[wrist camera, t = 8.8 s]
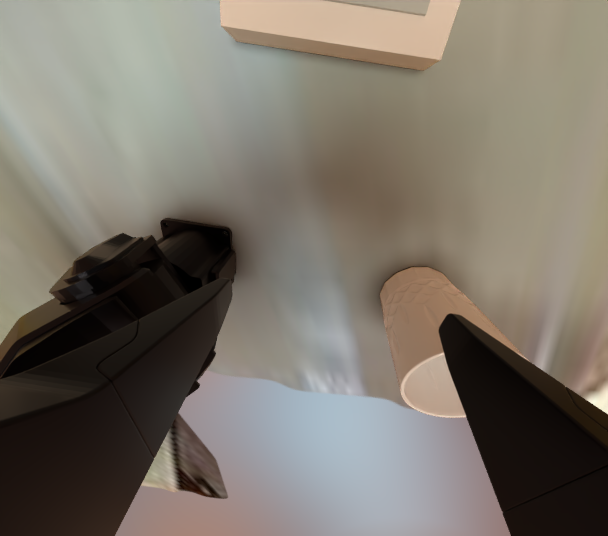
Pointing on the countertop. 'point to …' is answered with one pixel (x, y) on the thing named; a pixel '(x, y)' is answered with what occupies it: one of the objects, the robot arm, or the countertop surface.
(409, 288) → the beige textured cup
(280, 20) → the base
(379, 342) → the countertop surface
